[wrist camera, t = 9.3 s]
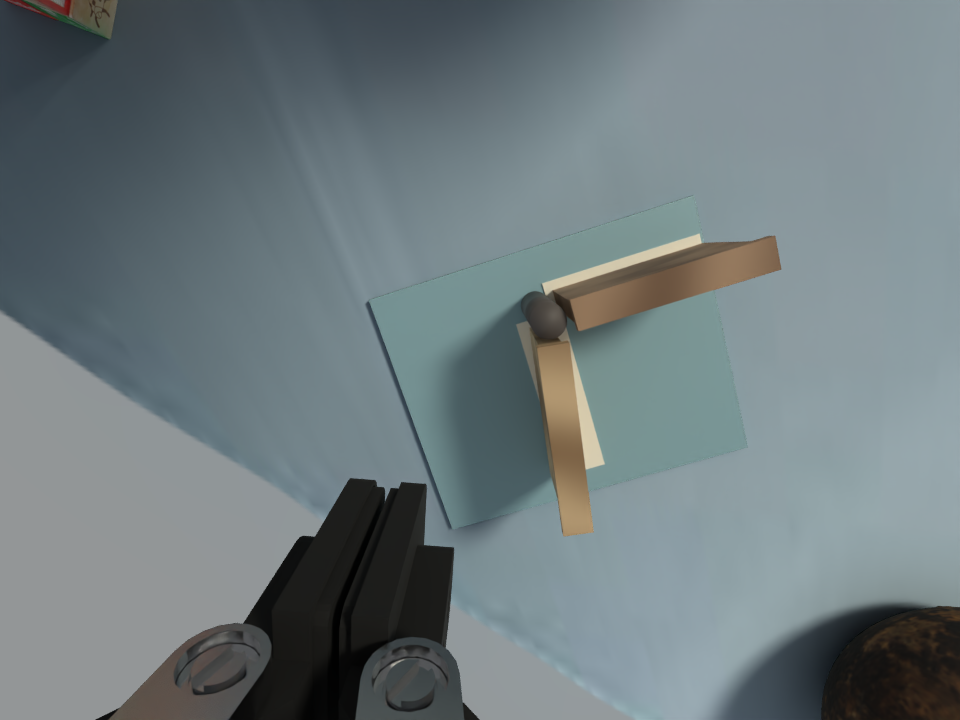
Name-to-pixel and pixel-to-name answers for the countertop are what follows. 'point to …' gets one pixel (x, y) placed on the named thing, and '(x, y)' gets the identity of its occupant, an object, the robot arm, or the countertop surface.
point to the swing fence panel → (562, 432)
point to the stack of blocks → (77, 13)
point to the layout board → (595, 359)
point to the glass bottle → (899, 670)
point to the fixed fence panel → (649, 285)
